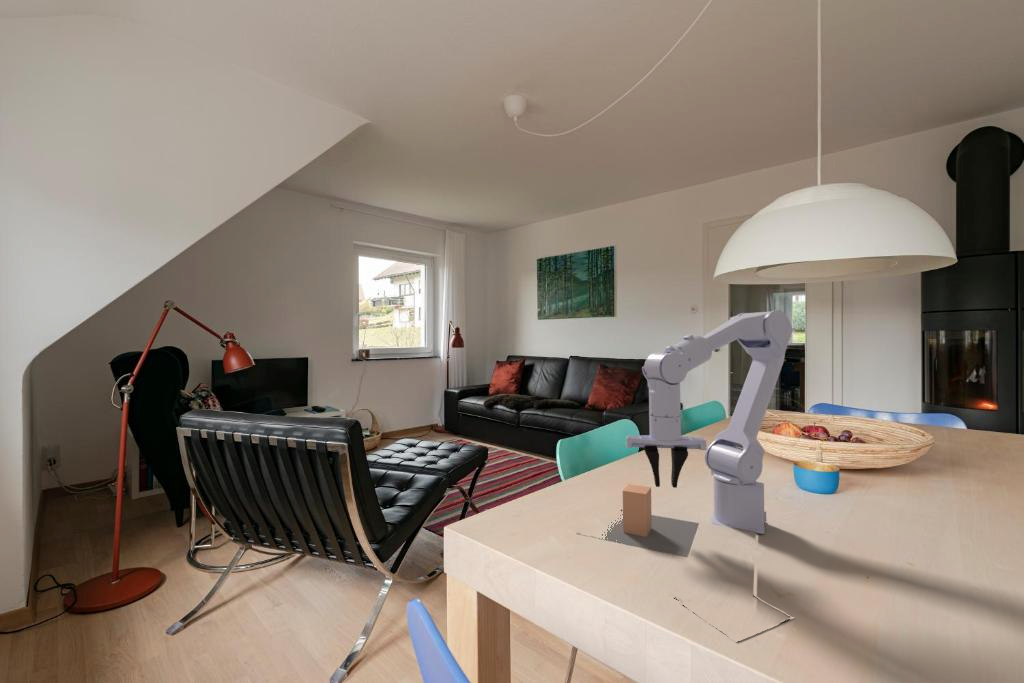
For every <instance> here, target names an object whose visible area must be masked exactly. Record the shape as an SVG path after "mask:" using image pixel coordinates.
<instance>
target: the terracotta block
mask: <svg viewBox="0 0 1024 683" xmlns="http://www.w3.org/2000/svg"><path fill="white" fill-rule="evenodd" d="M622 510H623V532H624V533H630V534H635V535H640V536H645V537H647V535H648V534H649V532H650V530H651V528H652V518H651V515H652V487H650V486H644V485H638V484H631V483H629V484H627V485H626V486H625V487H624V488H623V490H622Z"/></svg>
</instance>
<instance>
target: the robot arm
mask: <svg viewBox="0 0 1024 683" xmlns="http://www.w3.org/2000/svg"><path fill="white" fill-rule="evenodd" d="M793 331H794V329H793V326H792V324H791V321H790V318H789V316H788V315H787V314H786V312H784V311H783V310H781V309H780V310H779V309H778V310H777V309H775V310H772V311H770V310H769V311H760V312H741V313H738V314H737V315H733V316H731V317H730V318H729V319H728V320H727V321H725V322H724V323H723V324H721V325H719V326H717V327H716V328H714V329H713V330H710V331H709V332H708V333H707V334H705V335H704V336H701V335H698V334H686V335H684V336H683V338H682V339H683V340H681V341H680V342H677V343H676V344H674V345H668V346H665V350H663V352H654V353H651V354H649V356H648V357H647V358H646V359H645V361H644V365H643V366H642V367H641V371H642V375H643V377H645V379H646V381H647V388H648V403H649V404H648V408H649V409H648V417H649V418H648V420H649V422H648V423H649V425H648V426H649V434H646V435H645V434H644V435H643V434H641V435H626V436H625V444H626V445H625V446H626V448H627V449H632V448H643V449H644V450H643V451H644V452H645V455H646V457H647V459H648V461H649V463H650V466H651V470H652V474H653V479H654V484H655V487H656V488H660V486H661V480H660V452H659V449H670V454H671V455H670V456H671V476H670V480H671V481H670V483H671V487H672V488H674V489H675V488H678V481H679V478H680V473H681V471H682V468H683V466H684V464H685V462H686V460H687V459H688V456H689V451H688V450H700V451H705V453H704V462H705V465H706V466H707V467H708V469H709V470H710V472H711V474H710V475H711V476H712V477H713V511H712V512H713V513H712V516H711V519H710V523H709V524H712V525H718V526H723V527H729V528H735V529H739V530H747V531H752V532H755V534H758V535H759V534H760V535H765V522H767V511H765V483H764V482H760V481H757V480H758V479H760V476H761V475H762V472H763V461H764V455H765V452H766V450H765V449H764V447H763V446H762V445H761V443H760V441H759V440H758V439H757V437H758V434H759V432H760V429H761V426H762V423H763V420H764V418H765V415H766V412H767V409H768V407H769V404H770V401H771V398H772V395H773V392H774V390H775V387H776V385H777V382H778V379H779V376H780V373H781V370H782V367H783V365H784V361H785V359H786V358H785V356H786V355H785V354H786V350H787V349H788V345H789V342H790V340H791V337H792V335H793ZM734 341H737V342H738V344H740V346H741V347H742V348H743V349H744V351H745V353H747V354H748V355H749V356H751V358H752V361H751V365H750V367H749V370H748V373H747V375H746V378H745V381H744V383H743V385H742V389H741V392H740V395H739V397H738V400H737V402H736V404H735V408H734V411H733V412H732V416H731V418H730V421H729V423H728V427H727V428H725V429H724V430H723V429H722V431H720V432H718V433H717V434H715V437H714V439H713V441H712V442H711V443H710V445H708V447H707V439H706V438H705V437H694V436H692V437H691V436H683V435H682V430H681V429H682V426H681V425H682V423H681V418H682V417H681V412H682V411H681V382H684V380H685V379H686V377H687V374H688V373H689V372H690V371H692V370H695V368H699V366H701V365H702V364H704V363H706V362H708V361H710V359H712V355H713V352H714V351H715V350H718V349H720V348H722V347H724V346H726V345H729V344H731V343H732V342H734Z"/></svg>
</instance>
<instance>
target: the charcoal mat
mask: <svg viewBox="0 0 1024 683" xmlns="http://www.w3.org/2000/svg"><path fill="white" fill-rule="evenodd" d="M622 515H623V514H622ZM620 516H621V515H620ZM651 518H652V528H651V530H650V532H649V534H648V535H647V537H645V536H640V535H635V534H630V533H624V532H623V519H622V521H621V520H620V521H619V522H618V521H617V522H618V524H617V522H616V523H615V524H614V523H613V524H614V527H613V526H612V525H613V524H612V525H611V527H610V528H611V529H612V530H611V529H610V531H611V532H610V531H609V530H608V529H607V531H608V532H607V536H606V534H605V536H606V537H605V540H604V541H607V540H608V542H612V541H613V543H616V542H617V544H621V543H622V545H627V546H631V547H636V548H640V549H646V550H650V551H656V552H659V553H660V552H661V553H665V554H670V555H673V556H674V555H675V556H677V557H678V556H679V557H683V558H688V556H689V552H690V550H691V547H692V545H693V541H694V539H695V536H696V533H697V529H698V526H699V522H694V521H687V520H683V519H679V518H677V519H676V518H671V517H665V516H661V515H660V516H659V515H654V514H651ZM618 519H619V518H618ZM620 519H621V518H620ZM615 521H616V520H615ZM620 522H621V523H620ZM611 523H612V522H611ZM619 523H620V524H619ZM616 524H617V525H616ZM608 526H609V525H608ZM612 527H613V528H612ZM608 528H609V527H608ZM604 533H605V532H604ZM602 536H603V534H602ZM607 538H608V539H607ZM602 539H603V538H602ZM602 539H600V538H599V539H598V540H602ZM616 540H617V541H616Z"/></svg>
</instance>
